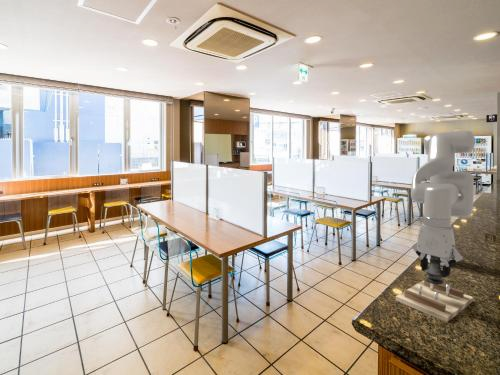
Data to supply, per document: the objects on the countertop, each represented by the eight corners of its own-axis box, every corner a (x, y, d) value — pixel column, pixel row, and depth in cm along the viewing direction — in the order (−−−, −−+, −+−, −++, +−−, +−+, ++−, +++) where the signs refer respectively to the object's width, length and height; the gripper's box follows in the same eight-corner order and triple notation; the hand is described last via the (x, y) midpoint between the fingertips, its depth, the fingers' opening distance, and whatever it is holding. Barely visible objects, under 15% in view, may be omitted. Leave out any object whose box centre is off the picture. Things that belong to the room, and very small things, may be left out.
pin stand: (423, 283, 107) (423, 270, 106) (472, 301, 94) (473, 286, 93) (395, 300, 96) (395, 285, 96) (447, 322, 83) (448, 305, 82)
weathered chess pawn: (420, 279, 96) (421, 246, 94) (432, 276, 98) (433, 243, 96) (436, 286, 90) (438, 251, 89) (448, 282, 92) (450, 248, 91)
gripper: (405, 219, 97) (403, 267, 99) (462, 229, 83) (459, 285, 84) (415, 216, 101) (414, 262, 103) (472, 225, 87) (469, 278, 88)
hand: (434, 272), depth 94 cm, fingers closed on weathered chess pawn, 5 cm apart
